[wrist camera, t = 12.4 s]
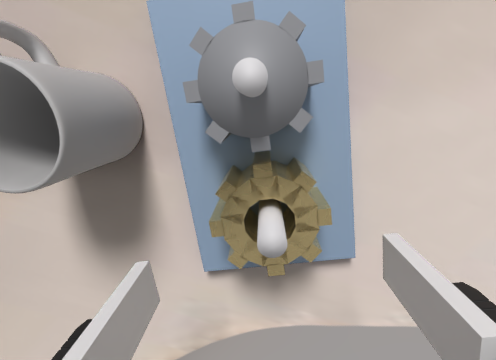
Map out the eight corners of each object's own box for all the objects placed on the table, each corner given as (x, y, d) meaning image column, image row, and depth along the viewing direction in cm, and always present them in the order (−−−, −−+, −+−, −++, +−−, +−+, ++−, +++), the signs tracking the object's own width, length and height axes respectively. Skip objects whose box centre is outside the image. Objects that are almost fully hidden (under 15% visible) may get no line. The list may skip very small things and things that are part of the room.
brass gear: (228, 247, 28) (220, 280, 23) (212, 158, 26) (198, 172, 20) (321, 238, 27) (335, 270, 22) (313, 144, 25) (327, 155, 19)
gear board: (207, 263, 30) (179, 342, 20) (153, 7, 24) (71, -65, 14) (350, 249, 29) (397, 327, 19) (337, -28, 22) (400, -139, 12)
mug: (159, 141, 27) (92, 165, 16) (90, 173, 28) (-14, 214, 18) (95, 19, 24) (-35, -47, 14) (22, 61, 26) (-148, 31, 15)
